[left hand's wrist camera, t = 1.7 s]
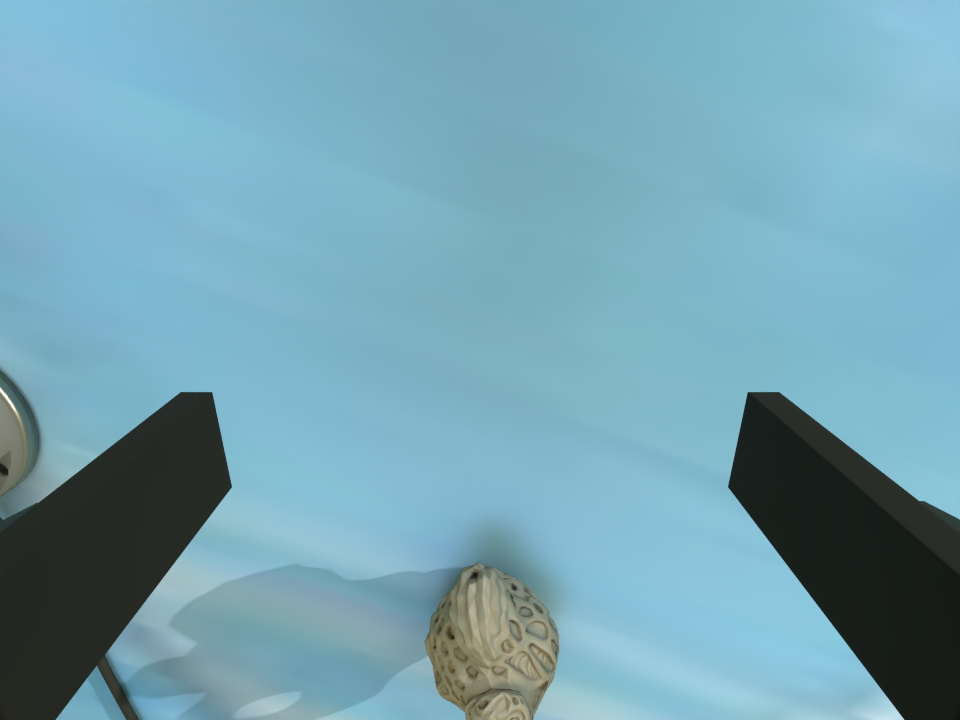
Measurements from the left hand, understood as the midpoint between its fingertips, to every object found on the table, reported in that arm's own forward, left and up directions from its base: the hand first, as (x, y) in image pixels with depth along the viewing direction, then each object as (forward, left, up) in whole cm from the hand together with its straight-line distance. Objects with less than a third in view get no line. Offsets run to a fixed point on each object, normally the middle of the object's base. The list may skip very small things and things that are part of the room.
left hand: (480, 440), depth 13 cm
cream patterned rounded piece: (+33, +6, -27) cm, 43 cm away
